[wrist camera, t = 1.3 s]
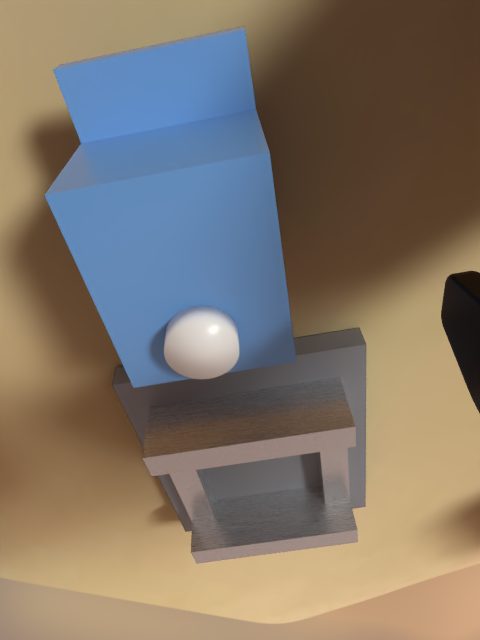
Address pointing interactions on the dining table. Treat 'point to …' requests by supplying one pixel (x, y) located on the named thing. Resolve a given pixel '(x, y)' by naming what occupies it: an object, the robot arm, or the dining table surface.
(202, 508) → the grey shallow tray
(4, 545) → the dining table surface
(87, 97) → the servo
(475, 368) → the robot arm
